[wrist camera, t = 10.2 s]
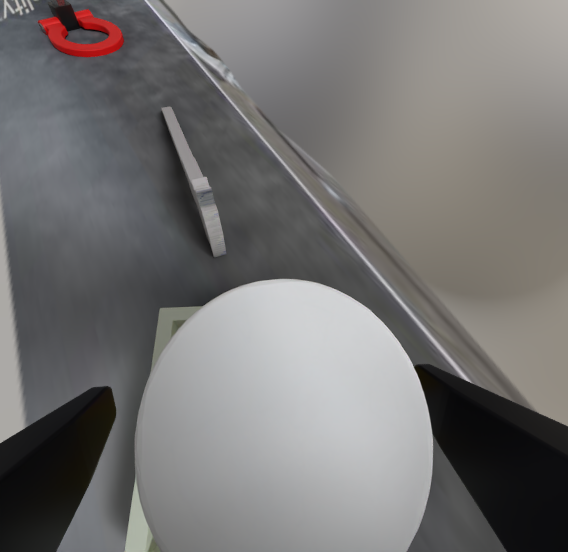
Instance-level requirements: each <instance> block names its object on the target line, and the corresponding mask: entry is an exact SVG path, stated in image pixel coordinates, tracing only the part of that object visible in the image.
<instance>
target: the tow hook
mask: <svg viewBox="0 0 568 552" xmlns="http://www.w3.org/2000/svg"><path fill="white" fill-rule="evenodd" d="M48 5H49V7H50V9H51V11H52V13H53V15H54V17H52V18H48V19H43V20H39V21H38V23H39V26H40V27H41V29H42V30H43V32H44V33H45V34H46V35H48V37H49V39H50V41H51V43H52V44H53V45H54V47H55V48H57V49H58V50H59V51H61V52H64V53H66V54H69V55H73V56H80V57H95V56H101V55H106V54H109V53H112V52H114V51H116V50H118V49H119V48H120V47H121V46H122V45H123V42H124V39H123V36H122V33H121V30H120V29H119V28H118V27H117V26H116V25H114V24H112V23H111V22H108V21H106V20H102V19H98V18H94V17H93V15H92V14H91V12H90V11H89V10H88V9H87V10H82V11H78V12H74V11H73V8H72V6H71V4H70V3H69V2H67V1H66V0H51V2H48ZM81 26H82V27H83V28H85V29H93V30H99V31H102V32H105V33H107V34H108V35H109V37H108V38H107V39H106V40H104V41H102V42H99V43H95V44H77V43H72V42H70V41H67V40H66V39H65V37H66V36H67V35H68V32H67V31H71V30H75V29H79V28H80V27H81Z"/></svg>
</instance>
